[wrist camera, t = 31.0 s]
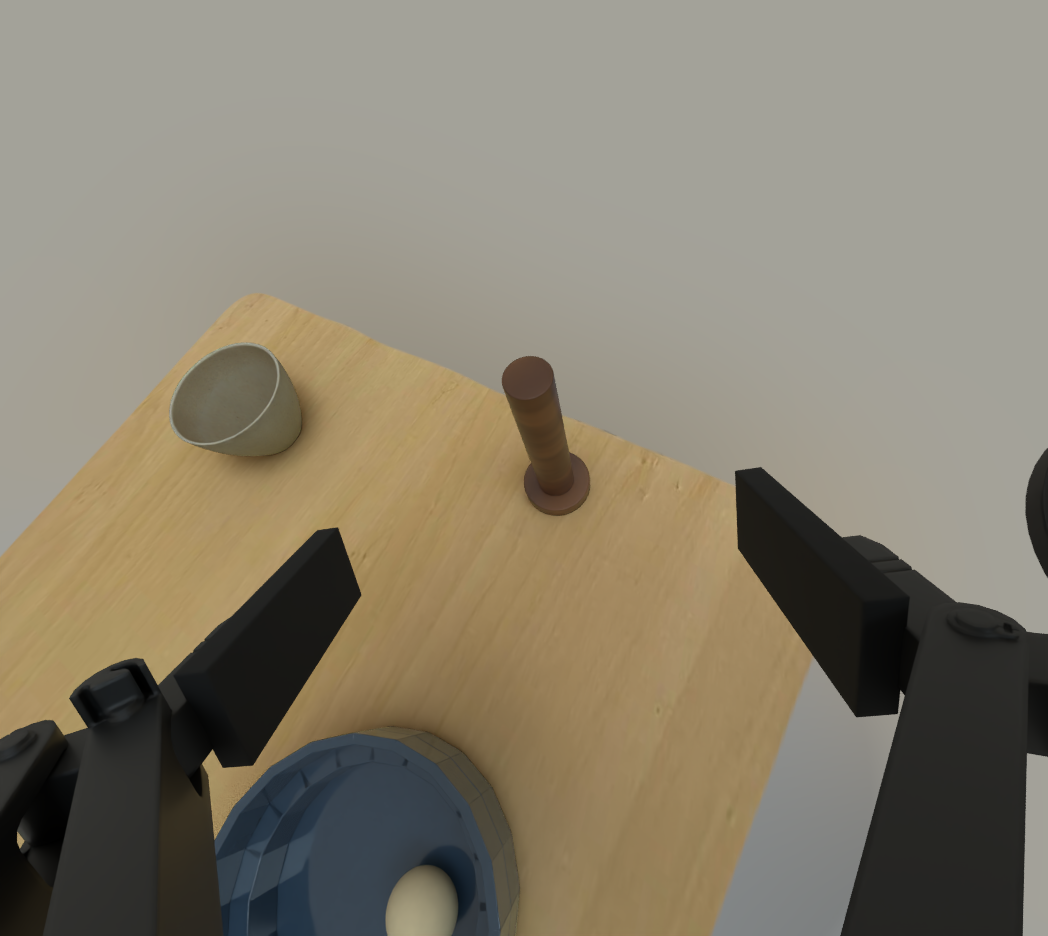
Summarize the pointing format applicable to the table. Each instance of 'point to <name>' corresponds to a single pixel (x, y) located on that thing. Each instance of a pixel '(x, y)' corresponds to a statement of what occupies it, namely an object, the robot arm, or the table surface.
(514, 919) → the bowl
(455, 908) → the dough ball
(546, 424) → the wooden peg stand
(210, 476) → the table surface
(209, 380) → the flower pot
